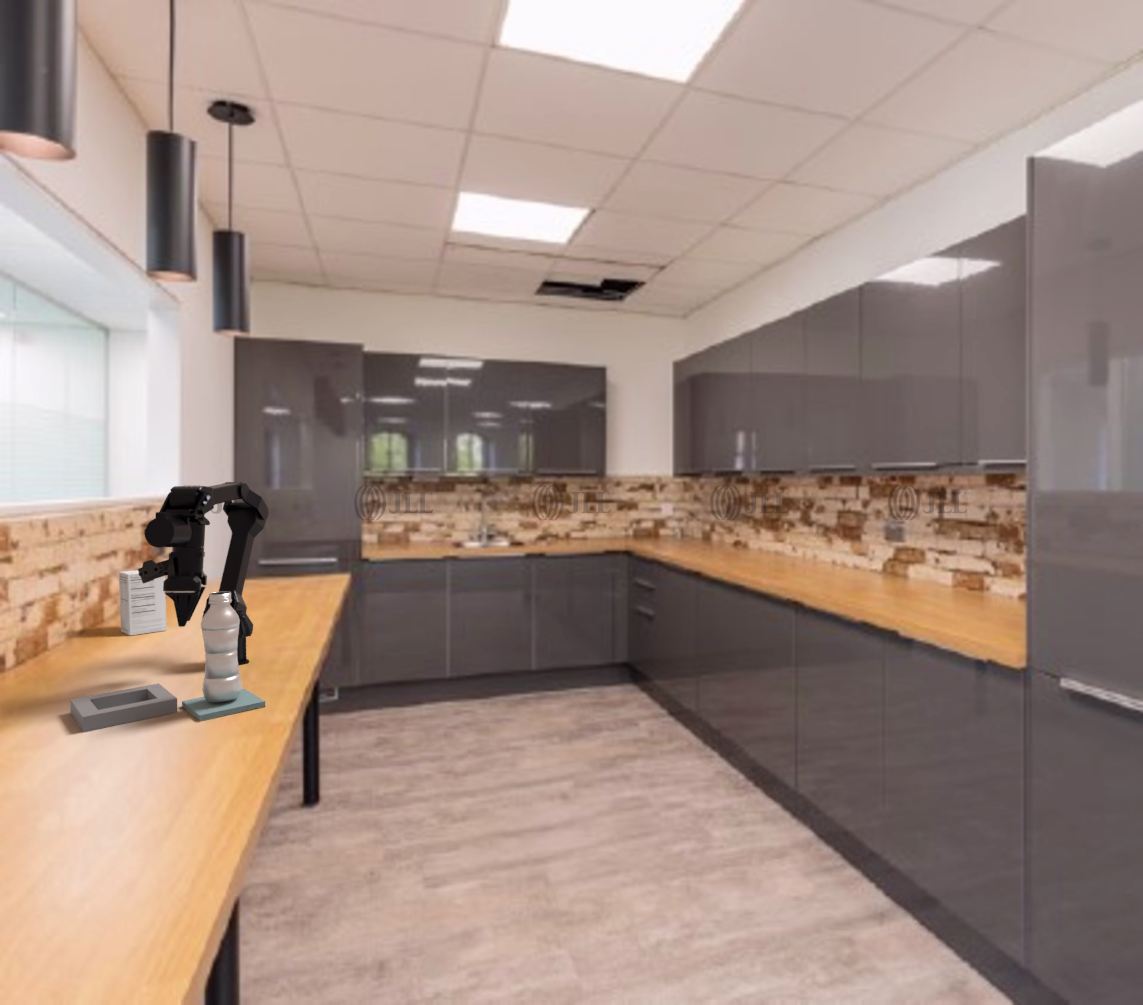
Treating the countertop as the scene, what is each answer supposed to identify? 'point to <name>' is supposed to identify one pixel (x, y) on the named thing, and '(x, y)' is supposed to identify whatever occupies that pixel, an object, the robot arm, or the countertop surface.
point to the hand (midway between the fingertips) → (184, 623)
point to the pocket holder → (122, 706)
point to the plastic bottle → (221, 649)
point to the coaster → (222, 705)
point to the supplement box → (141, 604)
